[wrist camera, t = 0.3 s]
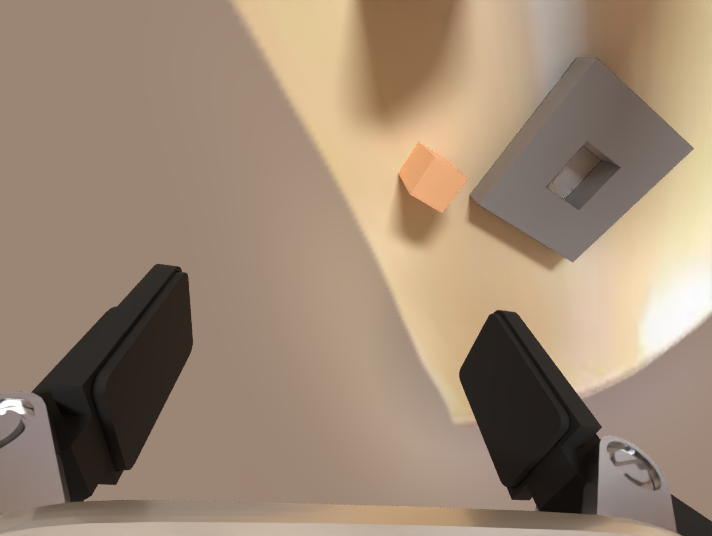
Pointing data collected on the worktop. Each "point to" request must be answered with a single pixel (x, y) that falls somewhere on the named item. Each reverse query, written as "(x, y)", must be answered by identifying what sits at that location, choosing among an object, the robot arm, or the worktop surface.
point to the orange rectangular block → (431, 177)
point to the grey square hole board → (562, 141)
